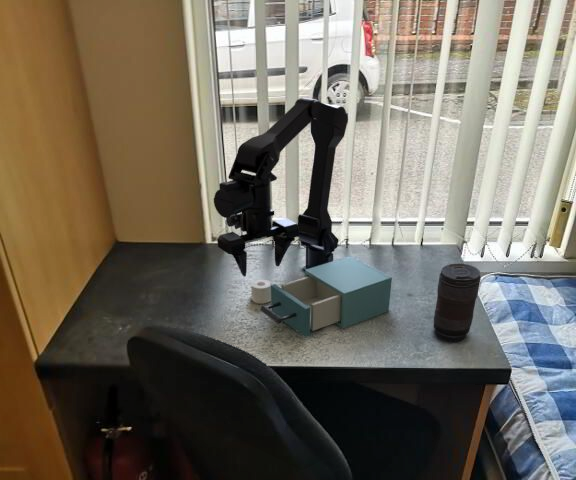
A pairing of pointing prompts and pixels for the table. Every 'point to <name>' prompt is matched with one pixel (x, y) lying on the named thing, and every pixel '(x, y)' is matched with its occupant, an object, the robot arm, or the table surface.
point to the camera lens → (456, 301)
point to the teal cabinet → (355, 288)
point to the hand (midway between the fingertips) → (260, 270)
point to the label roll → (261, 291)
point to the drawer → (304, 305)
